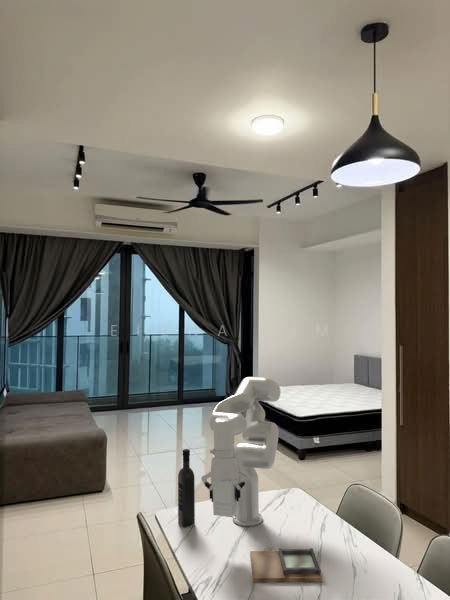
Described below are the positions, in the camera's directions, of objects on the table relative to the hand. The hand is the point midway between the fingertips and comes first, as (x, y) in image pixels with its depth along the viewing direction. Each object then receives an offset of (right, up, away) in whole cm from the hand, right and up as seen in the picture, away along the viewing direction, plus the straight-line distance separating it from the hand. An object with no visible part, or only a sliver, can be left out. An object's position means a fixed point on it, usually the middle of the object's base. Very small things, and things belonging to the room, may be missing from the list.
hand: (225, 499), depth 155 cm
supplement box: (0, -5, 0) cm, 5 cm away
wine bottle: (-16, -19, +19) cm, 32 cm away
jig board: (+20, -17, -12) cm, 29 cm away
